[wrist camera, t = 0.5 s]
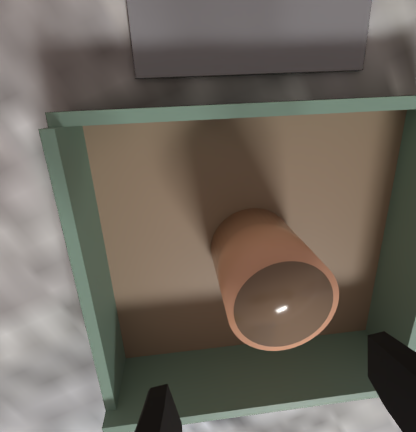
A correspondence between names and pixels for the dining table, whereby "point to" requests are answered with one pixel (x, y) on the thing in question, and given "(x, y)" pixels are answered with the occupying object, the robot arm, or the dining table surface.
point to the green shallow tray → (203, 233)
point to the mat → (246, 36)
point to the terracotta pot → (271, 281)
